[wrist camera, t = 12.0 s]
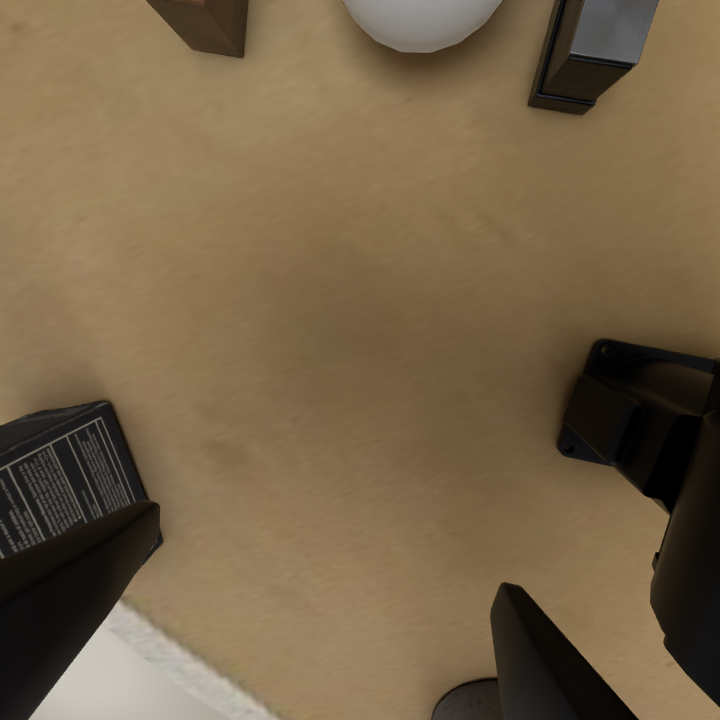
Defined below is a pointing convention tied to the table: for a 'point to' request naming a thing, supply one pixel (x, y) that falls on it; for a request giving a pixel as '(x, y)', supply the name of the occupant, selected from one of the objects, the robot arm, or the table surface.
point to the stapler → (589, 51)
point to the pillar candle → (472, 703)
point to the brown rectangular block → (207, 23)
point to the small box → (62, 474)
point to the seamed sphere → (420, 21)
